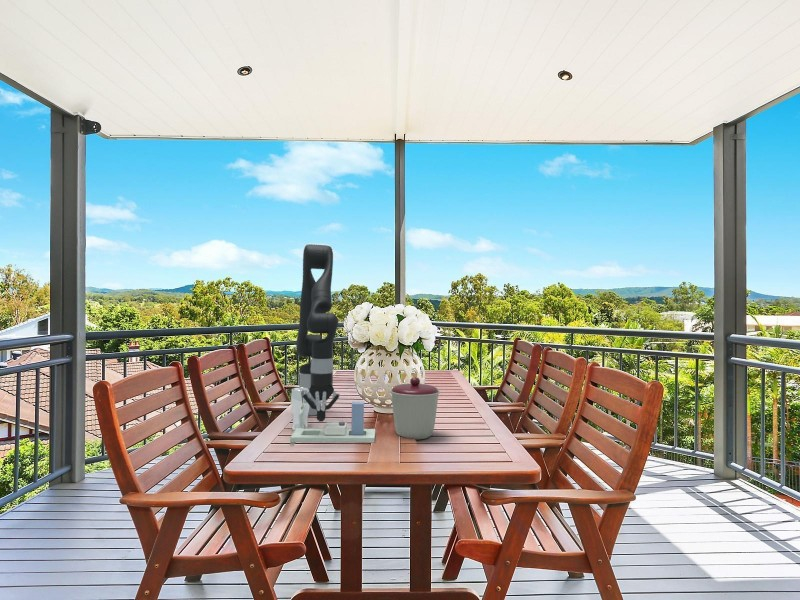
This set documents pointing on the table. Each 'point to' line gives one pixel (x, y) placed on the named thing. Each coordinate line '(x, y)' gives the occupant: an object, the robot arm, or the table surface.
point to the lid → (335, 428)
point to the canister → (414, 409)
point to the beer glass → (299, 408)
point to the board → (330, 436)
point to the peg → (357, 419)
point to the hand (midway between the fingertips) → (321, 421)
